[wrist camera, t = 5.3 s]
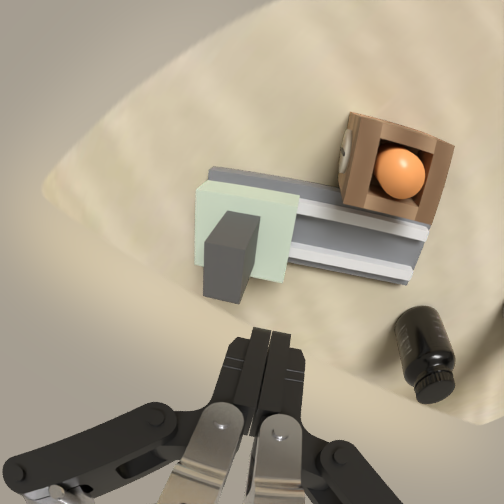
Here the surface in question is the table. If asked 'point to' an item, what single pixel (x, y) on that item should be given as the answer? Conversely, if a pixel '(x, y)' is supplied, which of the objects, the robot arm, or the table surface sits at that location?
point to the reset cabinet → (363, 159)
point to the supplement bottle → (425, 354)
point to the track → (341, 230)
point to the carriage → (241, 236)
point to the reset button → (398, 171)
